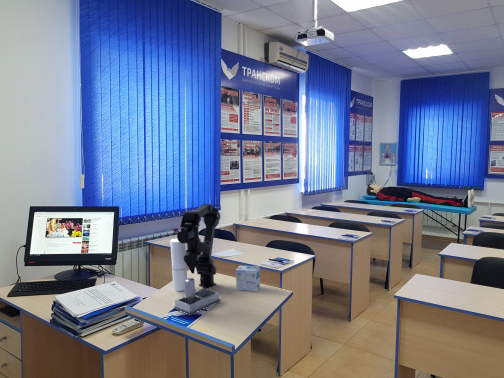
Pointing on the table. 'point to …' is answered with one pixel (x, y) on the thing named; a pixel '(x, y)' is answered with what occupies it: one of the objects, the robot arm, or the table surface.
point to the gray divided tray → (198, 301)
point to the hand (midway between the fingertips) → (194, 270)
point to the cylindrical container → (178, 264)
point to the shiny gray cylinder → (190, 290)
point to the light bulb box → (248, 278)
